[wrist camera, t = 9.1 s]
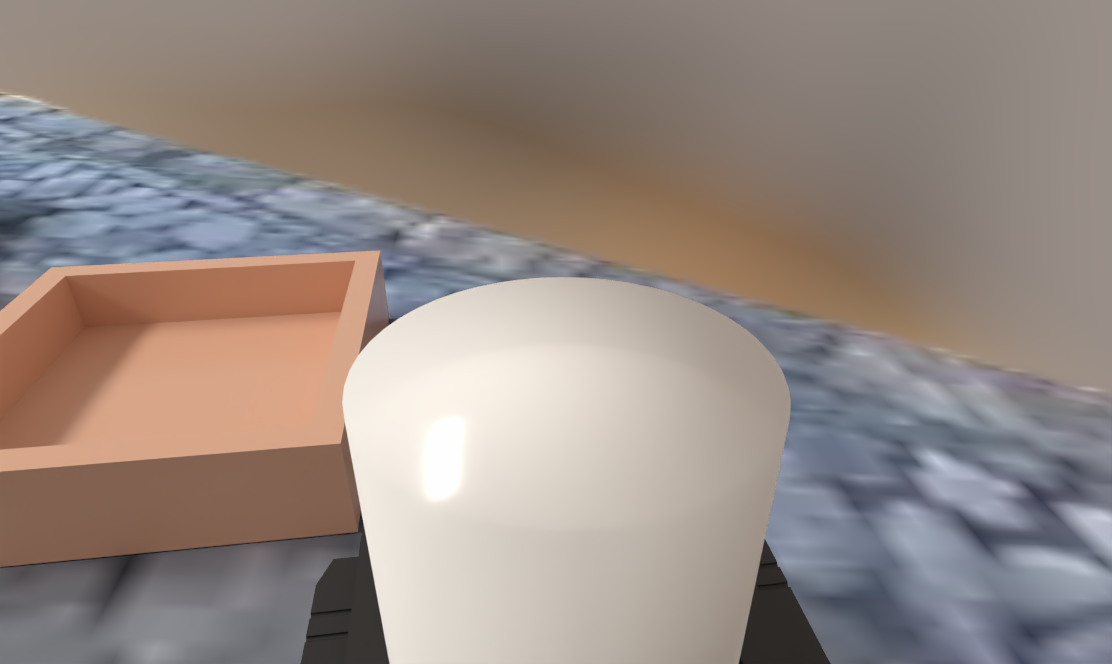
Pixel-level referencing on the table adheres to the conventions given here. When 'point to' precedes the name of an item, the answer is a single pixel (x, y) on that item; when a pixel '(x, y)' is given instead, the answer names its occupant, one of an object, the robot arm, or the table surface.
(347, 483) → the terracotta tray
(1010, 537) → the table surface
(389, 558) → the ceramic canister
